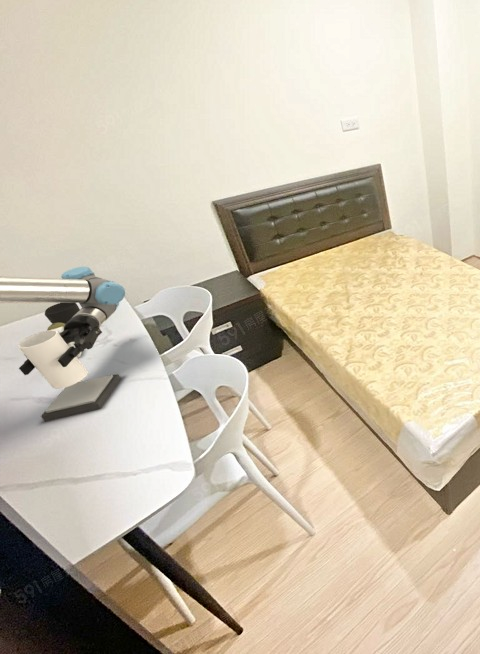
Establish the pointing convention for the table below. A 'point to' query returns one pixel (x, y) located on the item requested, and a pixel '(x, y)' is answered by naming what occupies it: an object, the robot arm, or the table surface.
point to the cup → (52, 359)
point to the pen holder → (61, 312)
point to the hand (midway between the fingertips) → (42, 367)
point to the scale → (82, 397)
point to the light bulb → (55, 326)
